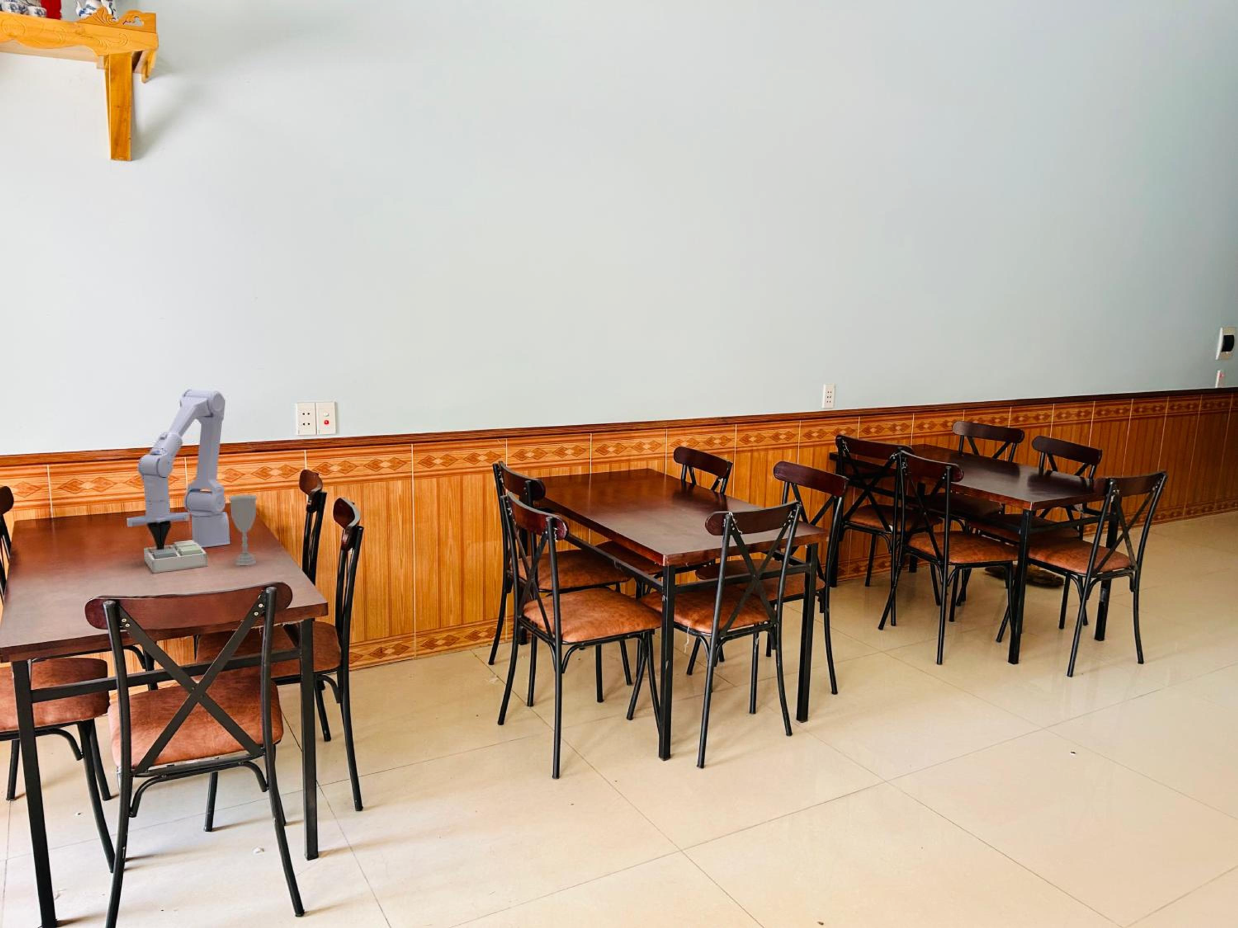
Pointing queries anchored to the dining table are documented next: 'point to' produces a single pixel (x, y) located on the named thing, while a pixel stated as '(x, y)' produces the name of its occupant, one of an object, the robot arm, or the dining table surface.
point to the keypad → (175, 561)
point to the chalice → (243, 522)
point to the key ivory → (184, 544)
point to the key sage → (189, 550)
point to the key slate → (164, 553)
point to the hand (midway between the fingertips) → (160, 549)
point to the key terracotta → (156, 549)
